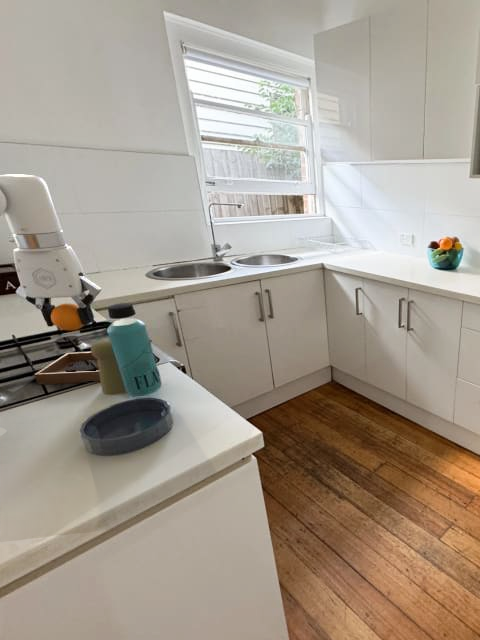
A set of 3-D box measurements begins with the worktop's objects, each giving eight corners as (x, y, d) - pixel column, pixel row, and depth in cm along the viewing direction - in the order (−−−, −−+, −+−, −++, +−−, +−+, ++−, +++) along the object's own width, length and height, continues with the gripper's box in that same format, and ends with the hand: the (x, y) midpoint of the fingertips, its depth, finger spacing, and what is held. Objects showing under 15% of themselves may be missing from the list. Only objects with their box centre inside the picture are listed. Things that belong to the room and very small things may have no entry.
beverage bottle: (138, 406, 76) (109, 312, 68) (121, 397, 79) (91, 306, 71) (171, 392, 82) (147, 303, 74) (153, 384, 85) (129, 297, 77)
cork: (142, 384, 84) (129, 339, 80) (113, 397, 79) (96, 349, 75) (125, 378, 86) (111, 333, 82) (95, 390, 81) (79, 343, 77)
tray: (37, 384, 83) (33, 374, 82) (70, 361, 93) (67, 352, 92) (105, 381, 85) (102, 371, 84) (130, 359, 95) (127, 350, 94)
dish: (67, 459, 62) (60, 444, 61) (111, 413, 74) (106, 400, 73) (155, 451, 64) (151, 437, 63) (184, 408, 76) (181, 395, 75)
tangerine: (49, 335, 82) (38, 308, 79) (67, 325, 87) (58, 300, 85) (80, 334, 83) (71, 308, 80) (96, 324, 88) (88, 299, 86)
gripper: (-25, 244, 72) (13, 331, 80) (77, 244, 75) (105, 328, 83) (6, 238, 79) (39, 319, 86) (99, 238, 82) (123, 316, 89)
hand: (71, 323), depth 84 cm, fingers closed on tangerine, 6 cm apart
